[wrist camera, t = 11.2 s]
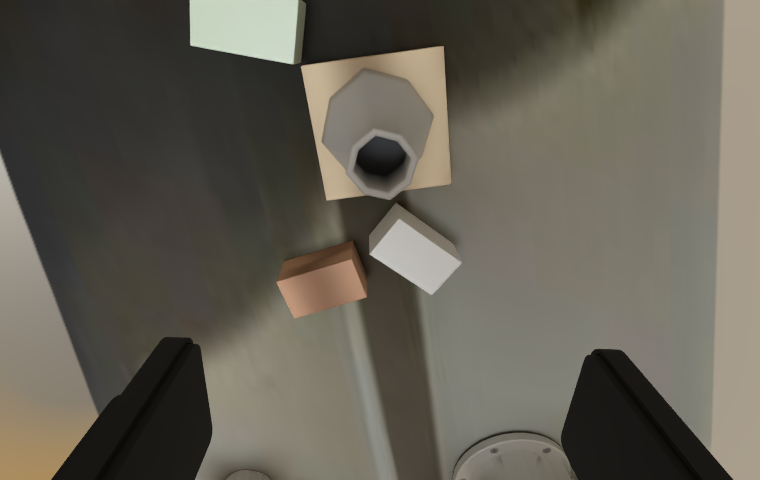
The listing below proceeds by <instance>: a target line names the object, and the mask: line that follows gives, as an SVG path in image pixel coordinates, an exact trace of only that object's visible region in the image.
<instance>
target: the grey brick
mask: <svg viewBox="0 0 760 480" xmlns="http://www.w3.org/2000/svg"><path fill="white" fill-rule="evenodd" d="M369 253H370V255H371V256H373V257H374V258H376V259H377V260H379V261H380V262H382V263H384V264H385V265H387V266H388V267H390V268H391V269H393V270H394V271H396V272H397V273H399V274H400V275H402V276H403V277H405V278H406V279H408V280H409V281H411V282H412V283H414V284H416V285H417V286H419V287H420V288H422V289H423V290H425V291H426V292H428V293H429V294H431V295H432V294H433V293H434V292H435V291H436V290H437V289H438V288H439V287H440V286H441V285H442V284H443V283H444V282H445V281H446V279H447V278H448V277H449V276H450V275H451V274H452V273H453V272H454V271H455V270H456V269H457V268H458V267H459V266H460V264H461V263H462V262H461V260H460V258H459V255H458V253H457V251H456V249H455V246H454V244H453V243H452V242H450V241H449V240H447V239H446V238H445V237H443V236H442V235H440V234H439V233H438V232H436V231H435V230H433V229H432V228H431V227H429V226H428V225H426V224H425V223H424V222H422V221H421V220H419V219H418V218H417V217H415V216H414V215H412V214H411V213H410V212H408V211H407V210H405V209H404V208H403V207H401V206H400V205H398V204H397V203H395V204H394V205H393V207H392V208H391V209H390V210H389V212H388V213H387V214H386V215H385V217H384V218H383V219H382V220H381V222H380V223H379V224H378V225H377V226H376V228H375V229H374V230H373V231H372V233H371V234H370V235H369Z"/></svg>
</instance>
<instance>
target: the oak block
mask: <svg viewBox="0 0 760 480" xmlns="http://www.w3.org/2000/svg"><path fill="white" fill-rule="evenodd" d="M363 68H367V69H371V70H374V71H378V72H382V73H385V74H389V75H393V76H397V77H400V78H404V79H408V81H409V82H410V83H411V85H412V86H413V87H414V89H415V90H416V92H417V93H418V94H419V96H420V97H421V98H422V100H423V101H424V102H425V104H426V105H427V107H428V108H429V109H430V111H431V112H432V113H433V115H434V118H433V121H432V125H431V128H430V131H429V135H428V138H427V142H426V145H425V148H424V152H423V155H422V158H421V159H419V160H418V162H417V165H416V169H415V172H414V176H413V179H412V182H411V184H410V185H409V186H407V187H406V188H405V189H403V190H411V189H418V188H426V187H434V186H441V185H449V184H451V169H450V152H449V134H448V116H447V98H446V80H445V63H444V46H436V47H428V48H421V49H414V50H407V51H400V52H393V53H385V54H378V55H371V56H364V57H357V58H350V59H343V60H335V61H328V62H321V63H314V64H307V65H303V66H301V69H302V75H303V80H304V85H305V90H306V95H307V101H308V106H309V111H310V116H311V121H312V127H313V132H314V137H315V142H316V147H317V153H318V158H319V163H320V168H321V174H322V179H323V184H324V189H325V194H326V200H334V199H342V198H350V197H357V196H365V194H363V193H362V192H361V191H360V189H359V188H358V187H357V186H356V185H355V184H354V183H353V181H352V180H351V179H350V178H349V177H348V176H347V175H346V170H345V169H344V167H343V166H342V165H341V164H340V163H339V162H338V161H337V159H336V158H335V157H334V156H333V155H332V154H331V152H330V151H329V150H328V149H327V148H326V147H325V146H324V144H323V143H322V142H321V140H322V135H323V130H324V124H325V119H326V114H327V109H328V103H329V98H330V97H331V96H332V95H334V94H335V93H336V92H337V91H338V90H339V89H340V88H341V87H343V86H344V85H345V84H346V83H347V82H348V81H349V80H350V79H352V78H353V77H354V76H355V75H356V74H357V73H358V72H359V71H361V70H362V69H363ZM403 190H402V191H403Z"/></svg>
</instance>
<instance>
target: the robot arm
mask: <svg viewBox="0 0 760 480" xmlns="http://www.w3.org/2000/svg"><path fill="white" fill-rule="evenodd" d="M211 437H212V421H211V415H210V408H209V402H208V395H207V388H206V382H205V375H204V369H203V362H202V355H201V349H200V346H199V345H198V344H193V341H192V339H191V338H180V337H165V338H163V339H162V340H161V341H160V342H159V344H158V345H157V346H156V348H155V349H154V350H153V352H152V353H151V355H150V356H149V357H148V359H147V360H146V361H145V363H144V364H143V365H142V367H141V368H140V369H139V371H138V372H137V374H136V375H135V376H134V378H133V379H132V380H131V382H130V383H129V384H128V386H127V387H126V388H125V390H124V391H123V393H122V394H121V395H118V396H116V397H114V398H113V399H112V400H111V401H110V403H109V404H108V405H107V406H106V408H105V409H104V410H103V412H102V413H101V414H100V416H99V417H98V418H97V420H96V421H95V422H94V424H93V425H92V426H91V428H90V429H89V430H88V432H87V433H86V434H85V436H84V437H83V438H82V439H81V441H80V442H79V443H78V445H77V446H76V447H75V449H74V450H73V452H72V453H71V454H70V455H69V457H68V458H67V459H66V461H65V462H64V463H63V465H62V466H61V467H60V469H59V470H58V471H57V473H56V474H55V475H54V477H53V478H52V480H195V478H196V475H197V473H198V471H199V468H200V466H201V463H202V461H203V458H204V456H205V454H206V451H207V449H208V446H209V444H210V441H211ZM561 442H562V447H563V449H564V451H563V450H562V448H561V447H560V446H559V445H557V444H556V443H555V442H554V441H552V440H550V439H548V438H546V437H543V436H540V435H537V434H530V433H509V434H502V435H498V436H495V437H491V438H489V439H486V440H484V441H482V442H480V443H478V444H477V445H475V446H473V447H472V448H471V449H470V450H468V451H467V452H466V453H465V454H464V455H463V456H462V457H461V459H460V460H459V461H458V463H457V465H456V467H455V470H454V474H453V480H574V479H571V478H570V473H571V469H570V464H571V466H572V468H573V470H574V472H575V474H576V476H577V478H578V480H733V479H732V478H731V477H730V476H729V474H728V473H727V472H726V471H725V470H724V468H723V467H722V466H721V465H720V464H719V463H718V461H717V460H716V459H715V458H714V457H713V456H712V454H711V453H710V452H709V451H708V450H707V449H706V447H705V446H704V445H703V444H702V443H701V442H700V440H699V439H698V438H697V437H696V436H695V435H694V433H693V432H692V431H691V430H690V429H689V428H688V426H687V425H686V424H685V423H684V422H683V421H682V419H681V418H680V417H679V416H678V415H677V414H676V412H675V411H674V410H673V409H672V408H671V407H670V405H669V404H668V403H667V402H666V401H665V400H664V398H663V397H662V396H661V395H660V394H659V393H658V391H657V390H656V389H655V388H654V387H653V386H652V384H651V383H650V382H649V381H648V380H647V379H646V377H645V376H644V375H643V374H642V373H641V372H640V370H639V369H638V368H637V367H636V366H635V365H634V363H633V362H632V361H631V360H630V359H629V358H628V356H627V355H626V354H625V353H624V352H623V351H621V350H614V349H595V350H594V351H593V352H592V353H591V355H587V356H586V357H585V359H584V362H583V366H582V369H581V372H580V375H579V378H578V382H577V385H576V388H575V391H574V395H573V398H572V401H571V404H570V407H569V411H568V414H567V417H566V420H565V423H564V427H563V430H562V434H561ZM564 452H565V453H564ZM565 454H566V455H565ZM566 456H567V457H566ZM567 458H568V459H567ZM568 460H569V461H568ZM569 462H570V463H569Z"/></svg>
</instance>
